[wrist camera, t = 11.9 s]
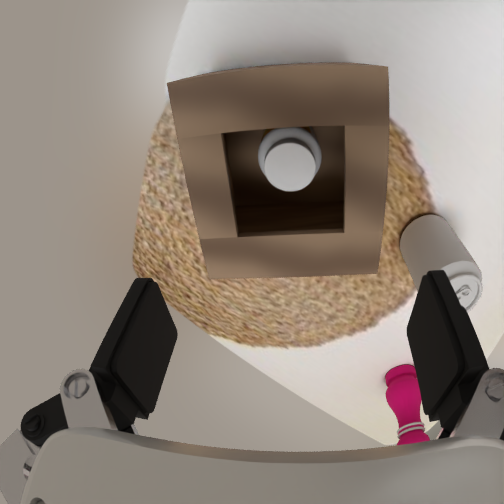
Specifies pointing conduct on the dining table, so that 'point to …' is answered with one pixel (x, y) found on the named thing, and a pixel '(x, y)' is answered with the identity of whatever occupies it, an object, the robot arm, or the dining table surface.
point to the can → (441, 257)
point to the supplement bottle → (289, 157)
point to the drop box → (268, 196)
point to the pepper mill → (406, 403)
